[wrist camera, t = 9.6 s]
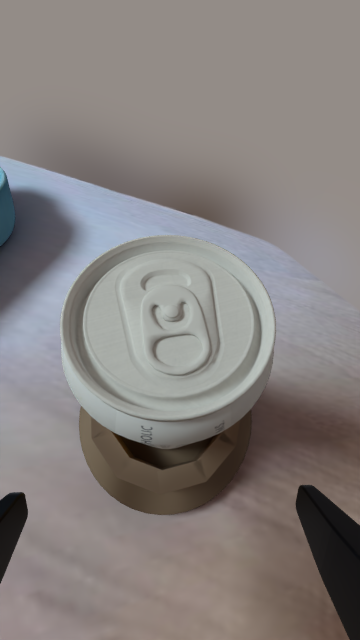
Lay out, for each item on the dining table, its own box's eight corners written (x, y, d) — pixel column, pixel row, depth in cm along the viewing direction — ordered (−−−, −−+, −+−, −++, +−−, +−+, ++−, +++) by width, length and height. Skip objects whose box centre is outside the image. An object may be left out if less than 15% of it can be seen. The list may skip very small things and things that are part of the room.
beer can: (196, 366, 20) (247, 220, 8) (212, 441, 18) (341, 413, 5) (128, 376, 20) (55, 232, 7) (133, 456, 17) (18, 476, 4)
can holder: (257, 358, 22) (272, 344, 19) (230, 544, 15) (246, 567, 12) (126, 318, 24) (120, 299, 21) (47, 470, 17) (21, 474, 14)
